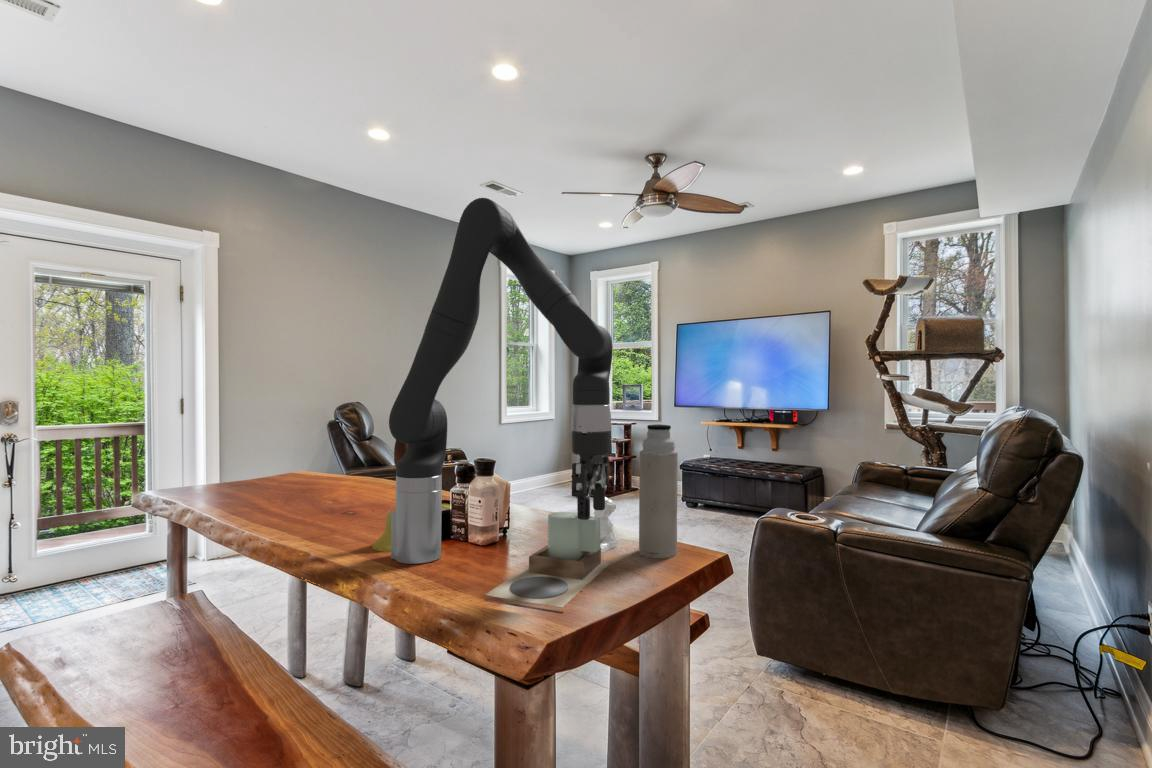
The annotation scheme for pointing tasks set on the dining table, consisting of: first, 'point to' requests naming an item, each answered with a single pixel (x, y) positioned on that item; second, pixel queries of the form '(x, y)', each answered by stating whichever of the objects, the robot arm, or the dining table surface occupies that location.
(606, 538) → the seated beast figurine
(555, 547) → the sage jug
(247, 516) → the dining table surface
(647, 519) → the thermos bottle
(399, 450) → the handbell
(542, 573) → the jug stand
